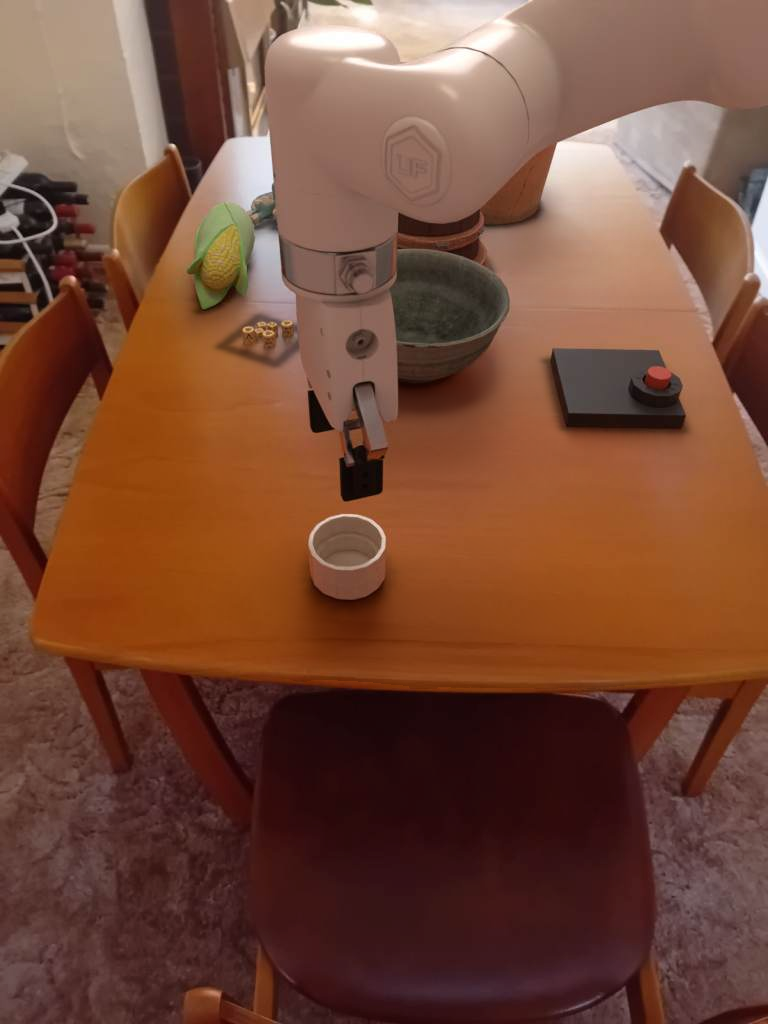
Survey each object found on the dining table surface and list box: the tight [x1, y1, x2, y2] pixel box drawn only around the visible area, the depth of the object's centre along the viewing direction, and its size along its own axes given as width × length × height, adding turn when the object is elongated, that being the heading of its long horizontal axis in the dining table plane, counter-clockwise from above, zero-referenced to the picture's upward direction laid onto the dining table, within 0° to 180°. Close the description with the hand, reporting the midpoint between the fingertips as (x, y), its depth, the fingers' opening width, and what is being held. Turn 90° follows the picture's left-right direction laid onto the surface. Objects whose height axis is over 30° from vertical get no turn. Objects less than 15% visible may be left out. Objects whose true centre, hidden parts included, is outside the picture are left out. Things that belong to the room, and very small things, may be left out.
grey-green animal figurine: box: [246, 181, 278, 227], centre depth 123 cm, size 11×7×12 cm
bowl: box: [389, 249, 511, 384], centre depth 93 cm, size 21×21×10 cm
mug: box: [397, 209, 490, 269], centre depth 107 cm, size 18×23×20 cm
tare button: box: [645, 366, 672, 390], centre depth 89 cm, size 3×3×2 cm
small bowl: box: [307, 513, 387, 601], centre depth 71 cm, size 7×7×4 cm
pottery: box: [480, 143, 558, 226], centre depth 125 cm, size 22×22×14 cm
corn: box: [186, 201, 256, 311], centre depth 110 cm, size 8×8×20 cm
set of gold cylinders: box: [242, 319, 295, 350], centre depth 100 cm, size 5×5×2 cm
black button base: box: [549, 347, 687, 430], centre depth 92 cm, size 13×13×4 cm
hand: (344, 459), depth 63 cm, fingers open, 8 cm apart
